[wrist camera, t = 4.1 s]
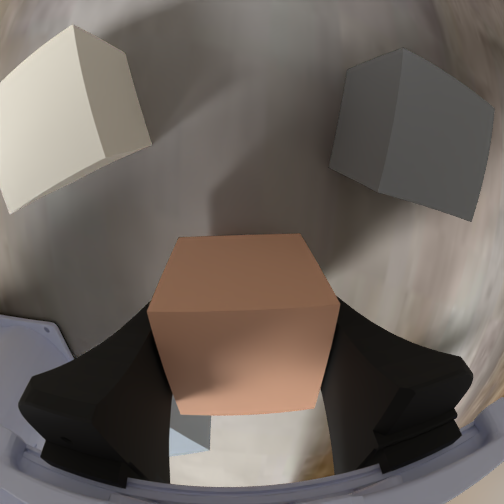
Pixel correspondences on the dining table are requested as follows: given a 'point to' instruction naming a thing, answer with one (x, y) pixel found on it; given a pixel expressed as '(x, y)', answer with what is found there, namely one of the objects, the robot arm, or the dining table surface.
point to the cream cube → (66, 116)
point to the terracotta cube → (243, 324)
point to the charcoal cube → (413, 133)
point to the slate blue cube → (188, 432)
